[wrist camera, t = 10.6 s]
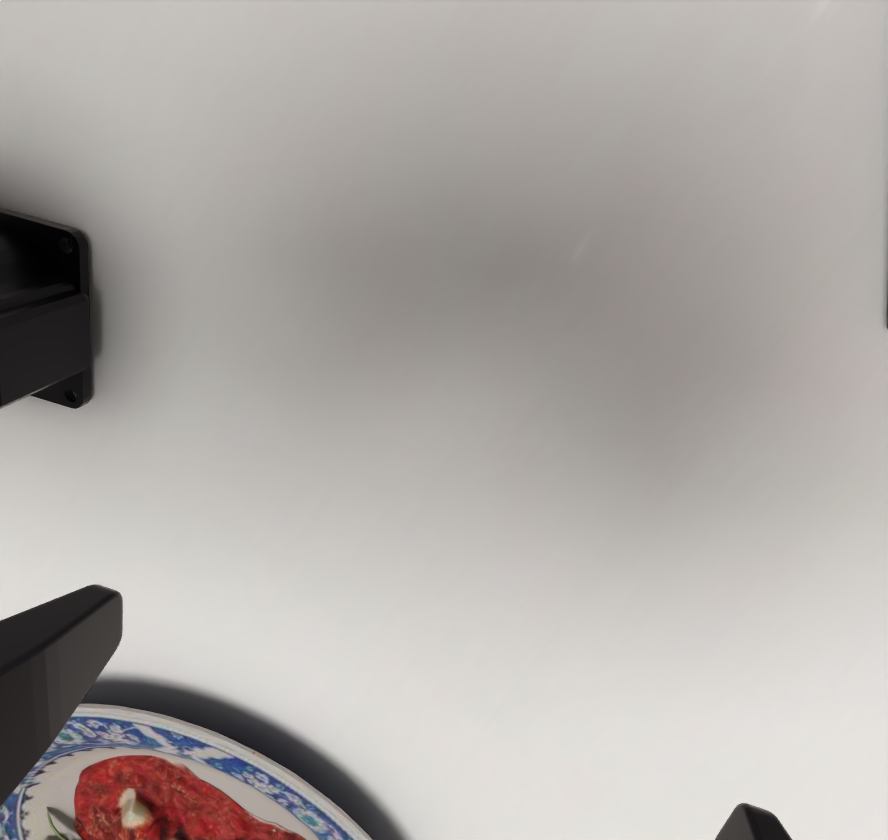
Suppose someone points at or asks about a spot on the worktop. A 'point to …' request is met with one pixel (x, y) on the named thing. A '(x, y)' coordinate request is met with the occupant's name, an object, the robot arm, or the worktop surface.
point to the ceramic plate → (163, 787)
